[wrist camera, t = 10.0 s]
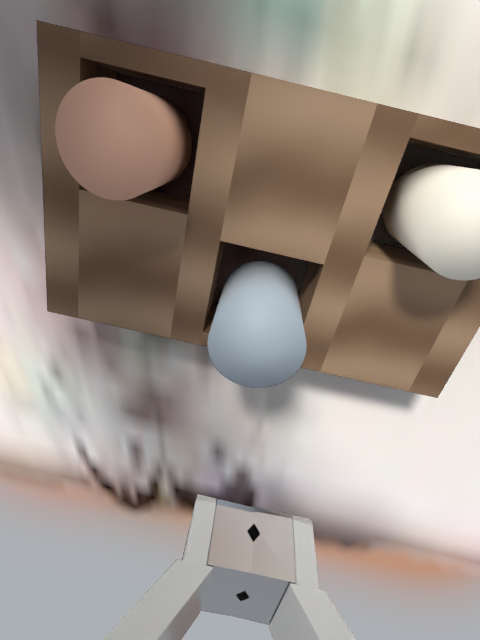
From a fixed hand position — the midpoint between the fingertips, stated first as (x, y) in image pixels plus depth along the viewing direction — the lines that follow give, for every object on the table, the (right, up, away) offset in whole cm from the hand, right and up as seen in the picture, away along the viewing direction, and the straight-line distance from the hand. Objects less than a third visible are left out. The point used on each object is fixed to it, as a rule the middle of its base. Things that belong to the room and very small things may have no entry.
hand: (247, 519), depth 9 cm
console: (+2, +11, +15) cm, 19 cm away
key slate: (+1, +7, +13) cm, 14 cm away
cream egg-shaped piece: (+10, +12, +11) cm, 19 cm away
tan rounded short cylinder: (-5, +15, +11) cm, 20 cm away
